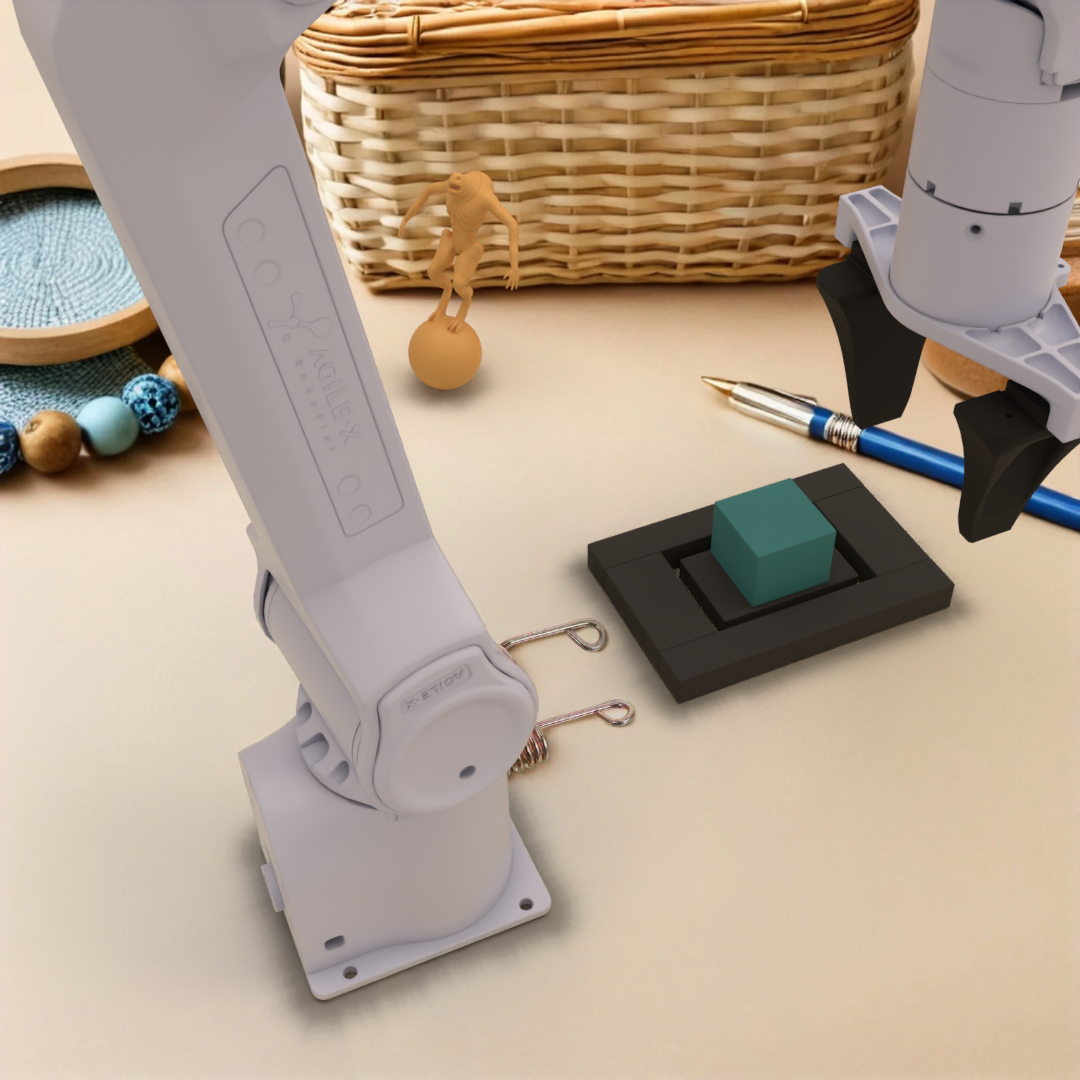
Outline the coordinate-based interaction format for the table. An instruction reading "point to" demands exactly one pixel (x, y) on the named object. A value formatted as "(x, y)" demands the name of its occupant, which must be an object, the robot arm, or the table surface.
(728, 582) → the teal block on base
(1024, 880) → the table surface
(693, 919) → the table surface
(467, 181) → the figurine
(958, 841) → the table surface
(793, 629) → the dark rectangular frame
